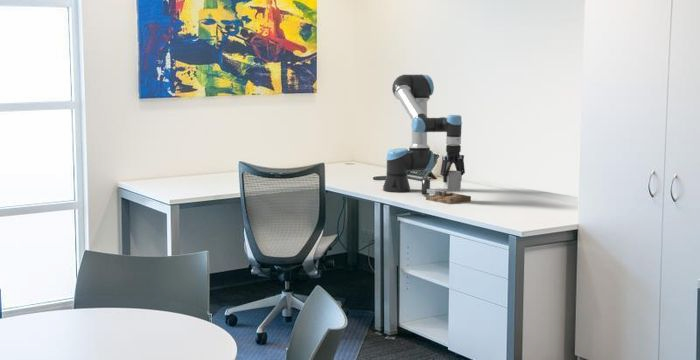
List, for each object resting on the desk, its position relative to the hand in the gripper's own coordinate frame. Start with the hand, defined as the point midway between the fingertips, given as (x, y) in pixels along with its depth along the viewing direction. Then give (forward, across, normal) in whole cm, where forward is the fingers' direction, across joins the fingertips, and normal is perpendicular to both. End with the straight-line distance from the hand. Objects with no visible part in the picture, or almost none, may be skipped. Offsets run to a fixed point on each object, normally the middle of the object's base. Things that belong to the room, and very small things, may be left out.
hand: (452, 187), depth 468 cm
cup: (+1, 0, 0) cm, 1 cm away
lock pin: (+6, 0, +15) cm, 16 cm away
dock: (+7, -1, +2) cm, 7 cm away
